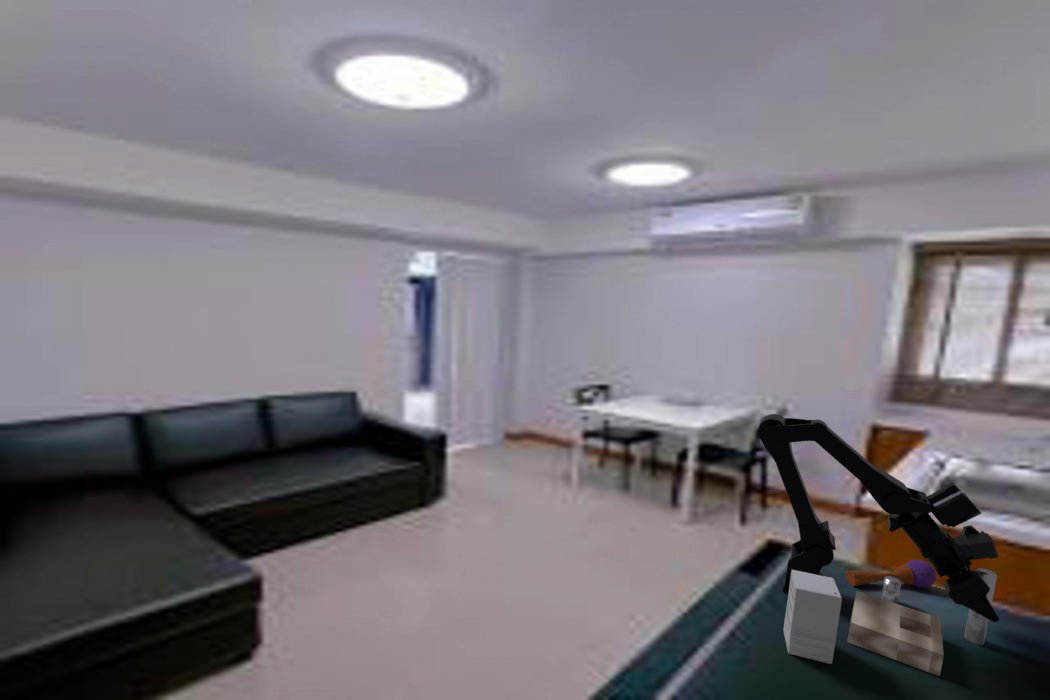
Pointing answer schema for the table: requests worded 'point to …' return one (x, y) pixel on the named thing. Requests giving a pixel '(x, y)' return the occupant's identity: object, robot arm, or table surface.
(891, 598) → the short pin
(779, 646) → the table surface
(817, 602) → the supplement box
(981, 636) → the long pin
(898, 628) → the hole block
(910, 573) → the kendama
